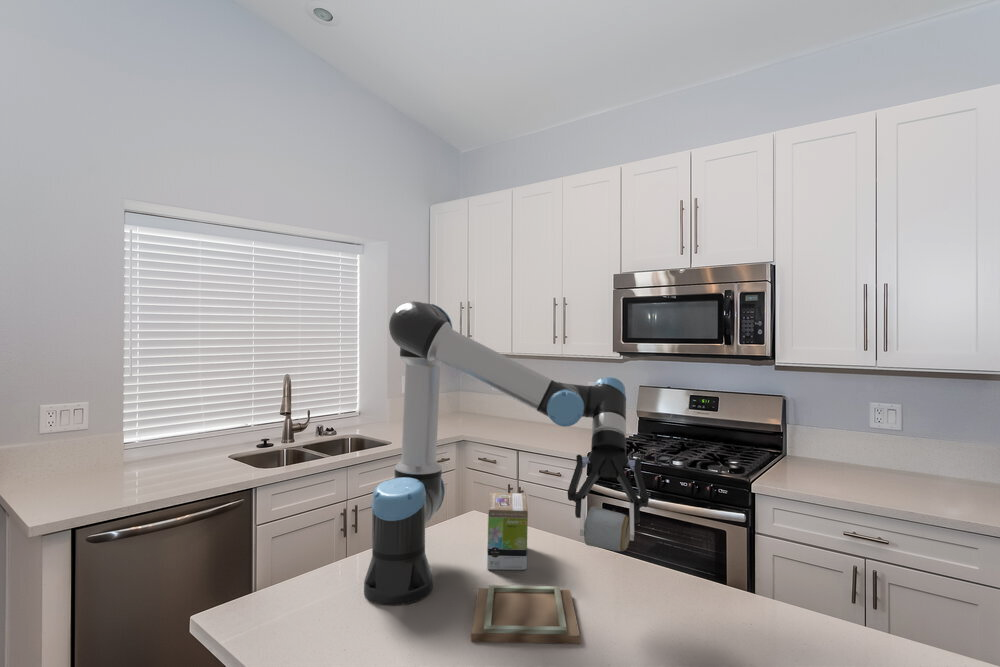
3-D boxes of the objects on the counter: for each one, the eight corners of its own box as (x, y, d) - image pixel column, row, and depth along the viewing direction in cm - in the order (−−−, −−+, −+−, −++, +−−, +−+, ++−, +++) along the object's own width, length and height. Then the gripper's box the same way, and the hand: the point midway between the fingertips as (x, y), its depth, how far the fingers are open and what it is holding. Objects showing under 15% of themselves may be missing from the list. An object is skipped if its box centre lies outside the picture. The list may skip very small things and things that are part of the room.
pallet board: (471, 641, 100) (471, 629, 100) (478, 594, 118) (478, 584, 118) (579, 643, 100) (579, 631, 100) (570, 596, 118) (570, 586, 118)
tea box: (528, 571, 130) (528, 509, 130) (486, 570, 131) (486, 509, 131) (526, 546, 145) (526, 491, 146) (488, 546, 146) (488, 491, 146)
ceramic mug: (624, 558, 104) (625, 518, 104) (582, 550, 107) (583, 511, 107) (634, 540, 113) (635, 503, 113) (596, 533, 117) (597, 498, 117)
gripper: (657, 450, 121) (662, 549, 106) (561, 444, 126) (552, 538, 110) (660, 431, 116) (666, 531, 100) (559, 425, 120) (550, 521, 105)
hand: (606, 535), depth 105 cm, fingers closed on ceramic mug, 9 cm apart
